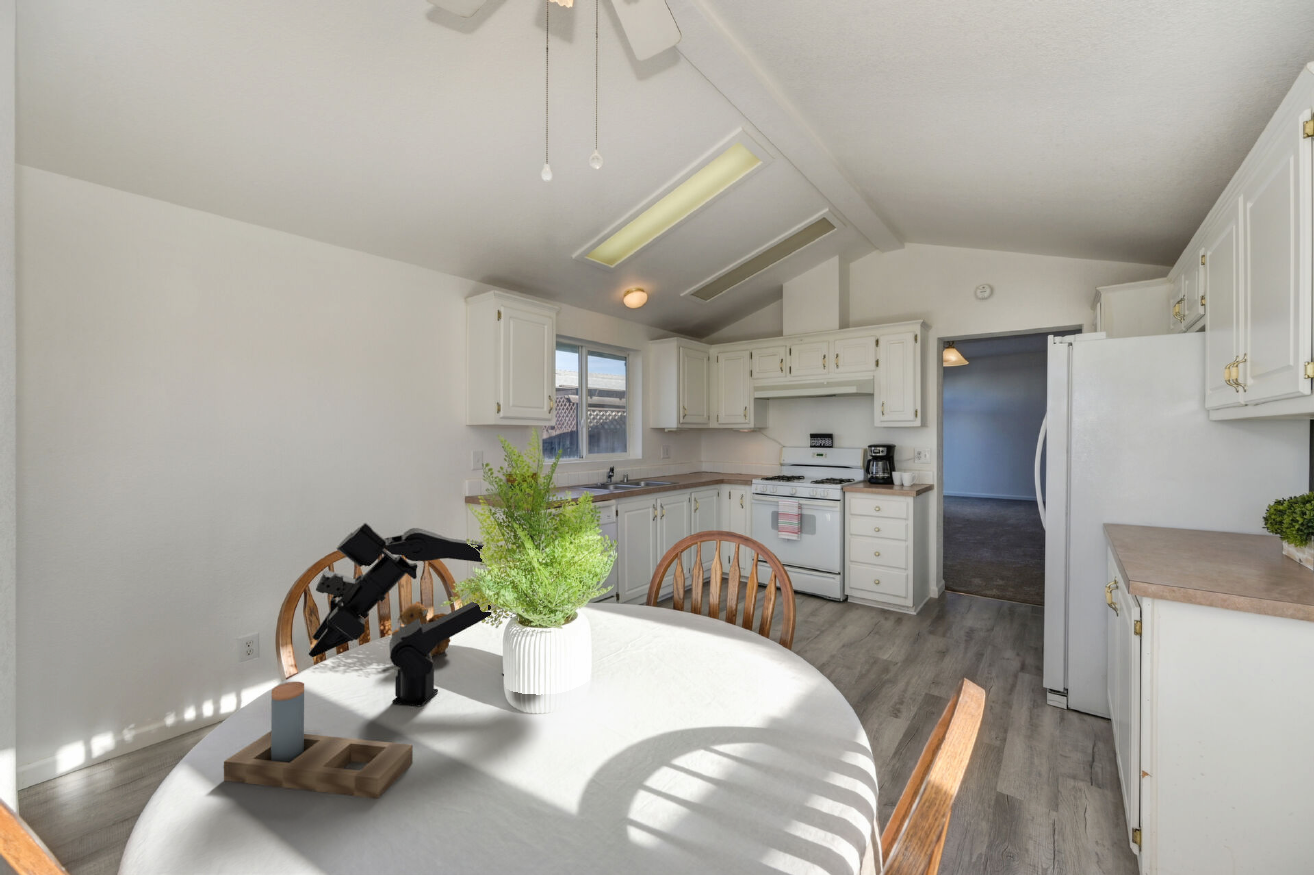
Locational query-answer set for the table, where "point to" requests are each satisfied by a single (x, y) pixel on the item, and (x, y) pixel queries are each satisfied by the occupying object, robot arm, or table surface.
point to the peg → (287, 722)
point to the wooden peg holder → (323, 765)
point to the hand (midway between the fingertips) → (312, 646)
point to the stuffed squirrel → (420, 613)
